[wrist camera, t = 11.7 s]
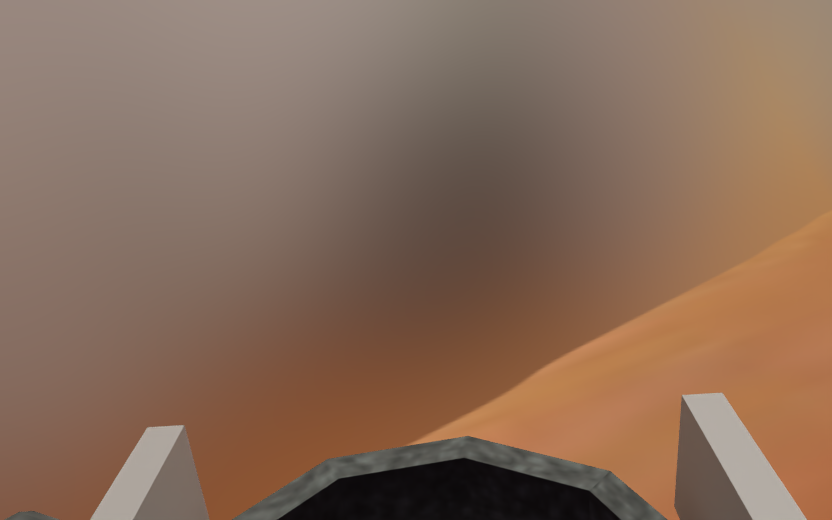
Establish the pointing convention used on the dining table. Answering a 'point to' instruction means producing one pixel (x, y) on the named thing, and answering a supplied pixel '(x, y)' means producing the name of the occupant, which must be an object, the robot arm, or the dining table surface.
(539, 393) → the dining table surface
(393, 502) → the mortar and pestle
